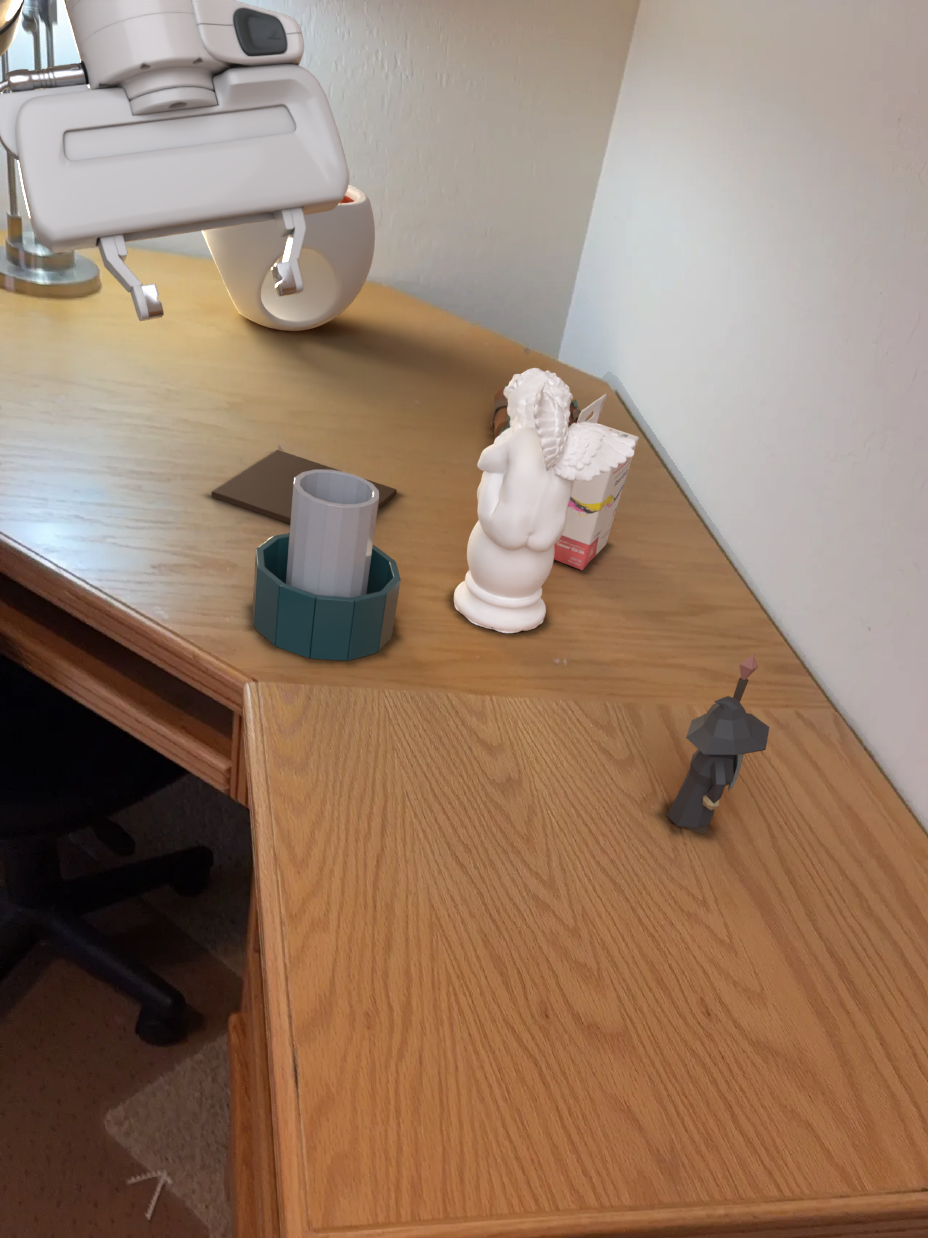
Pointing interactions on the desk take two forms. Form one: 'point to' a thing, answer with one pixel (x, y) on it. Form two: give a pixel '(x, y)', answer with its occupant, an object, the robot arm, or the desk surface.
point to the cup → (331, 533)
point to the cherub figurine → (529, 500)
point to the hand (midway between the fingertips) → (222, 305)
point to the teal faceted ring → (323, 608)
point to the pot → (326, 264)
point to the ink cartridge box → (592, 505)
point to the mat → (276, 485)
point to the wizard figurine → (717, 755)
